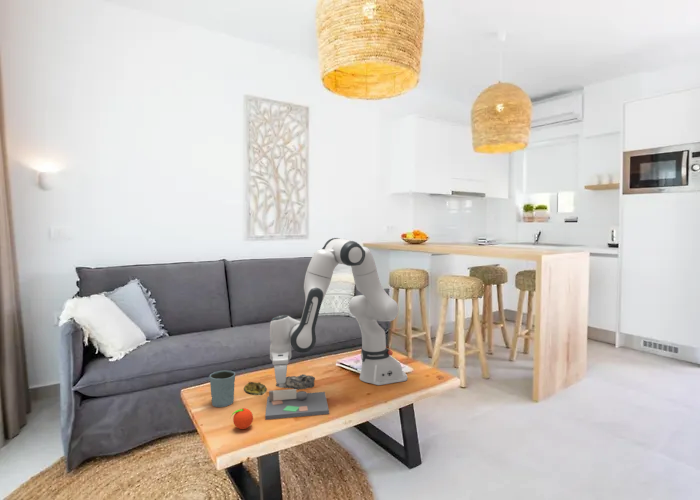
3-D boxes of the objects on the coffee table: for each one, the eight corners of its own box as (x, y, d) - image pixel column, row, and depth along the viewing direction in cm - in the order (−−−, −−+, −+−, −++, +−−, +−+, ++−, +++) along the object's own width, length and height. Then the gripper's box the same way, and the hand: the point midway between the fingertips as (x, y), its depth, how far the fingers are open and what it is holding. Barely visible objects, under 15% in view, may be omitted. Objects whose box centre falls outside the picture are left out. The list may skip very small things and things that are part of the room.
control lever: (306, 395, 170) (306, 386, 170) (307, 399, 166) (306, 390, 166) (269, 398, 168) (269, 389, 168) (269, 403, 164) (268, 393, 164)
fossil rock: (322, 386, 185) (311, 376, 199) (322, 378, 185) (311, 368, 198) (281, 395, 177) (273, 383, 191) (281, 386, 177) (272, 375, 191)
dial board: (324, 395, 174) (324, 391, 174) (329, 413, 157) (328, 409, 157) (267, 399, 171) (267, 396, 171) (265, 419, 153) (265, 415, 153)
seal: (239, 390, 186) (252, 400, 174) (237, 380, 185) (251, 389, 173) (258, 382, 191) (272, 392, 179) (256, 373, 191) (271, 382, 179)
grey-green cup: (209, 400, 172) (208, 372, 171) (234, 396, 176) (233, 368, 175) (211, 410, 162) (210, 380, 162) (237, 405, 166) (236, 376, 166)
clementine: (231, 435, 142) (231, 415, 142) (229, 426, 148) (228, 407, 148) (255, 430, 145) (254, 410, 145) (251, 421, 152) (250, 403, 151)
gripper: (273, 347, 181) (274, 378, 182) (272, 362, 161) (273, 396, 161) (288, 346, 182) (288, 377, 183) (288, 361, 162) (289, 395, 162)
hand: (281, 386), depth 172 cm, fingers closed
